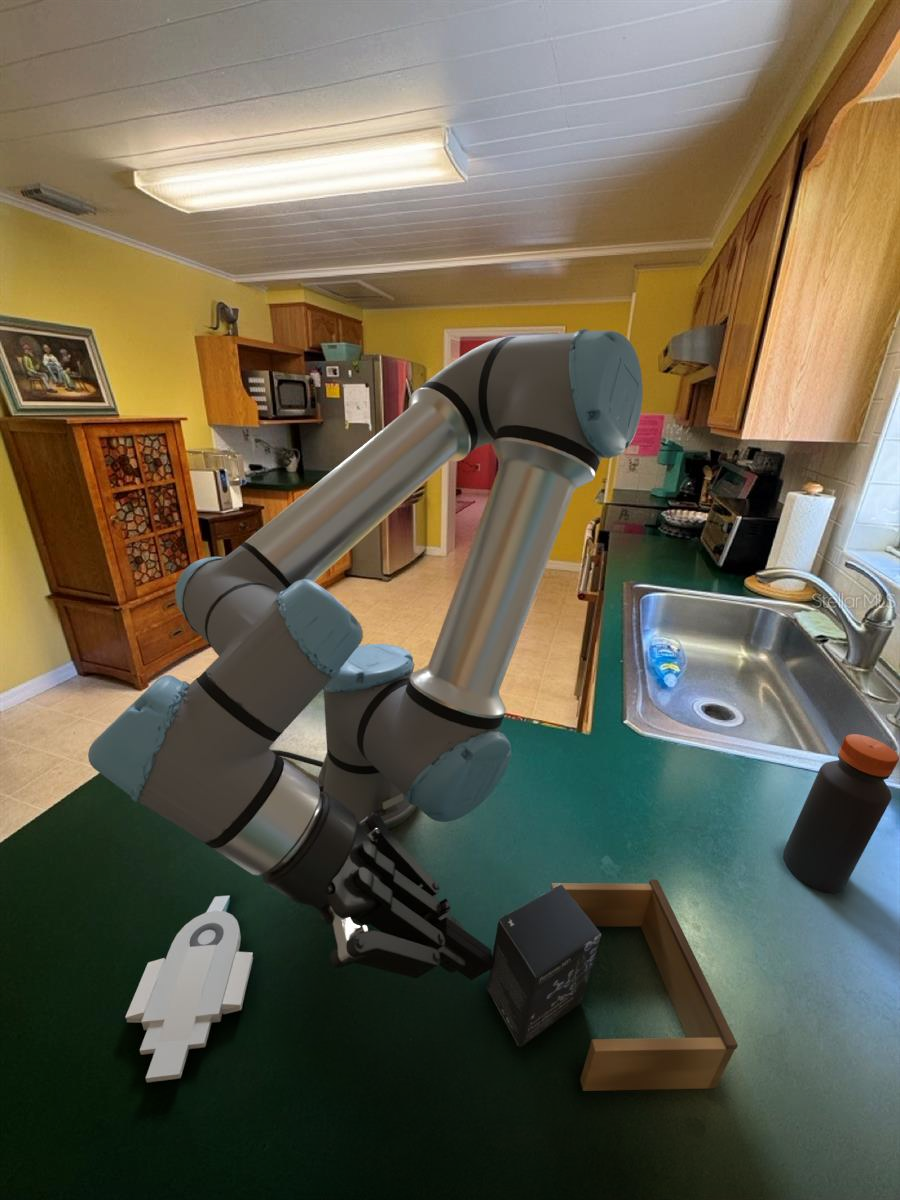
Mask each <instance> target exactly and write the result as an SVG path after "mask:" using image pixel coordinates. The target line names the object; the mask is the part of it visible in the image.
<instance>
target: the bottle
mask: <svg viewBox="0 0 900 1200" xmlns="http://www.w3.org/2000/svg"><path fill="white" fill-rule="evenodd" d="M837 759H838V760H837ZM837 759H836V760H832V761H827V762H824V763H823V764H822V765H821V766H820V768H819V770H818V772H817V774H816V776H815V779H814V781H813V783H812V786H811V788H810V789H809V793H808V795H807V797H806V799H805V802H804V804H803V806H802V808H801V810H800V813H799V815H798V817H797V819H796V821H795V823H794V826H793V828H792V831H791V833H790V835H789V838H788V840H787V842H786V844H785V846H784V849H783V851H782V858H783V861H784V863H785V865H786V867H787V869H788V870H789V871H790V872H791V873H792V874H793V875H794V876H795V877H796V878H797V879H799V880H800V881H802V882H803V883H804V884H805V885H807V886H810V887H811V888H813V889H816V890H819V891H822V892H826V893H834V894H835V893H839V892H841V891H843V890H844V889H845V888H846V886H847V884H848V882H849V880H850V878H851V876H852V874H853V873H854V871H855V869H856V867H857V865H858V863H859V861H860V859H861V858H862V855H863V853H864V852H865V850H866V849H867V846H868V844H869V842H870V841H871V839H872V837H873V836H874V835H873V834H874V833H875V831H876V829H877V827H878V825H879V823H880V822H881V819H882V818H883V816H884V814H885V812H886V811H887V808H888V807H889V805H890V802H891V801H892V792H891V789H890V787H889V786H888V785H887V783H886V781H885V780H887V779H889V778H890V777H891V775H892V774H893V772H894V770H895V769H896V766H897V764H898V763H899V761H900V755H899V754H898V753H897V752H896V751H895V750H894V749H893V748H892V747H891V746H889V745H888V744H886V743H884V742H882V741H881V740H878V739H876V738H874V737H871V736H868V735H863V734H856V733H855V734H854V733H852V734H850V733H849V734H847V735H846V736H845V737H844V739H843V741H842V743H841V746H840V748H839V750H838V753H837Z"/></svg>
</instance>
